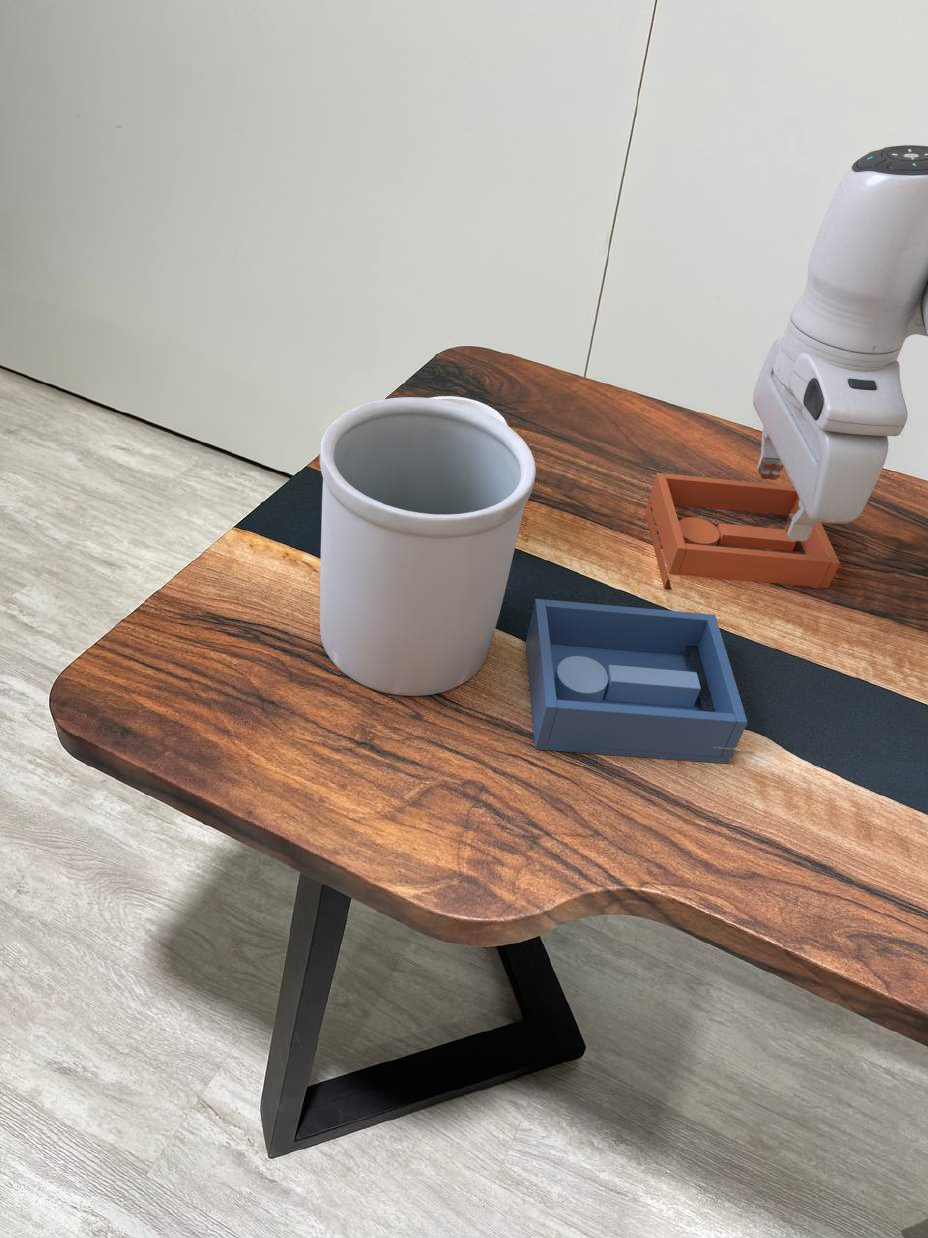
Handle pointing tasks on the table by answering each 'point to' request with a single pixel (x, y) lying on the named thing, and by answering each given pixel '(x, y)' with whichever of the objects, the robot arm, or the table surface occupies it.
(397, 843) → the table surface
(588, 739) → the bin blue
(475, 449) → the utensil holder
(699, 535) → the spoon terracotta
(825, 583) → the bin terracotta
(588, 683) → the spoon blue
